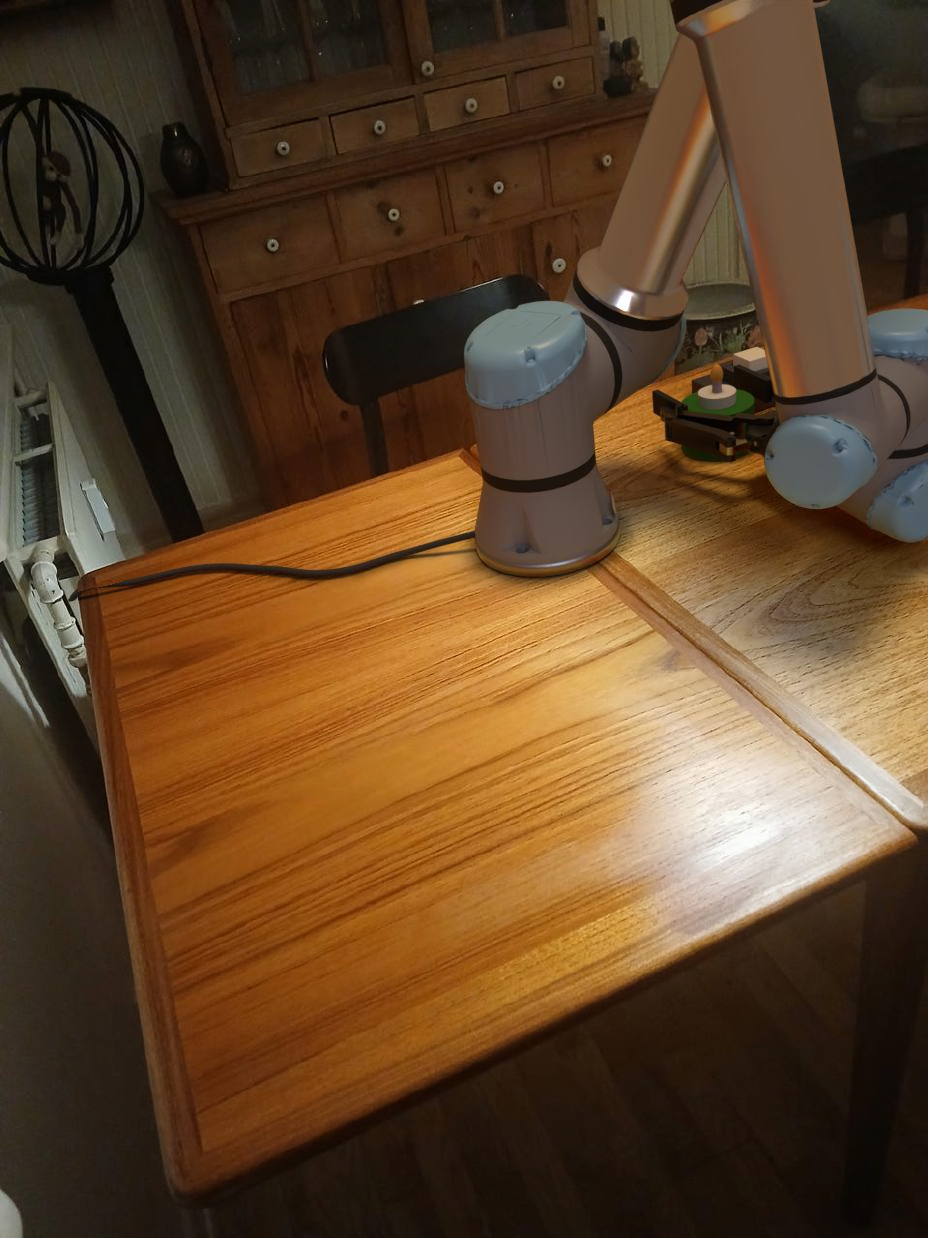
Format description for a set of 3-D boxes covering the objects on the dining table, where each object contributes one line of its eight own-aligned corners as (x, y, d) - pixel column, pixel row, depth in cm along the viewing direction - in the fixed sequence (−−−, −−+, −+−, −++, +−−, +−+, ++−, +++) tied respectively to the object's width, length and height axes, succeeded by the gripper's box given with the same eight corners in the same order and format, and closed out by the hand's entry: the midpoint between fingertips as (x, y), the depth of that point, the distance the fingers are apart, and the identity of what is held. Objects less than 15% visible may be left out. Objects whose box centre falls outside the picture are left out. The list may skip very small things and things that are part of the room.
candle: (726, 467, 108) (726, 383, 103) (667, 451, 114) (664, 371, 108) (768, 439, 112) (769, 357, 107) (709, 425, 118) (708, 347, 112)
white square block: (749, 374, 120) (749, 361, 119) (732, 366, 123) (732, 353, 122) (773, 366, 120) (774, 353, 119) (756, 359, 123) (756, 346, 122)
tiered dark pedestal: (735, 418, 118) (735, 388, 116) (691, 395, 126) (690, 366, 124) (816, 392, 121) (818, 362, 119) (768, 371, 129) (769, 342, 127)
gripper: (719, 517, 95) (613, 444, 113) (907, 452, 100) (777, 392, 118) (718, 448, 91) (608, 384, 108) (915, 384, 96) (779, 332, 113)
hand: (696, 388), depth 113 cm, fingers open, 10 cm apart
